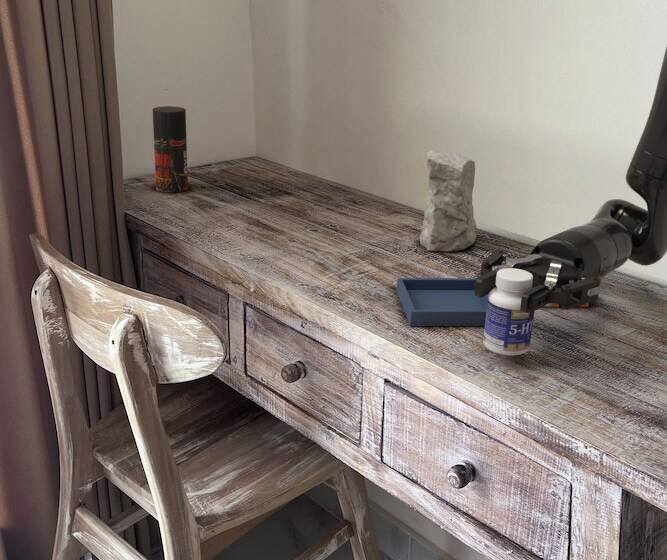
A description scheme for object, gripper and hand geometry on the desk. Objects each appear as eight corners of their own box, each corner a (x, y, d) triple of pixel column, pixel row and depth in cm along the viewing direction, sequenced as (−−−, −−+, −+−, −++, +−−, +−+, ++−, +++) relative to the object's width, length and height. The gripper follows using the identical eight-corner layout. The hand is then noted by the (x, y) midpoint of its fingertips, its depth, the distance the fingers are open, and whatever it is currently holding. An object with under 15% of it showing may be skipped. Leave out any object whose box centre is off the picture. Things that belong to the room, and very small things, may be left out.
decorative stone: (477, 255, 126) (487, 163, 121) (418, 251, 127) (425, 159, 122) (475, 235, 135) (484, 148, 130) (420, 230, 136) (427, 144, 131)
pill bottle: (511, 361, 90) (520, 286, 87) (473, 344, 94) (480, 273, 90) (539, 347, 93) (548, 275, 90) (501, 332, 97) (509, 262, 94)
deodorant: (156, 184, 157) (153, 106, 151) (187, 184, 158) (185, 106, 152) (155, 192, 152) (151, 112, 146) (187, 192, 153) (185, 112, 147)
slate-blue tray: (498, 326, 102) (500, 311, 101) (410, 326, 101) (411, 311, 100) (476, 291, 112) (478, 278, 112) (396, 291, 111) (397, 277, 111)
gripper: (526, 217, 104) (449, 247, 92) (635, 245, 95) (564, 282, 83) (519, 272, 107) (444, 308, 95) (624, 304, 98) (555, 348, 86)
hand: (500, 296), depth 89 cm, fingers closed on pill bottle, 5 cm apart
